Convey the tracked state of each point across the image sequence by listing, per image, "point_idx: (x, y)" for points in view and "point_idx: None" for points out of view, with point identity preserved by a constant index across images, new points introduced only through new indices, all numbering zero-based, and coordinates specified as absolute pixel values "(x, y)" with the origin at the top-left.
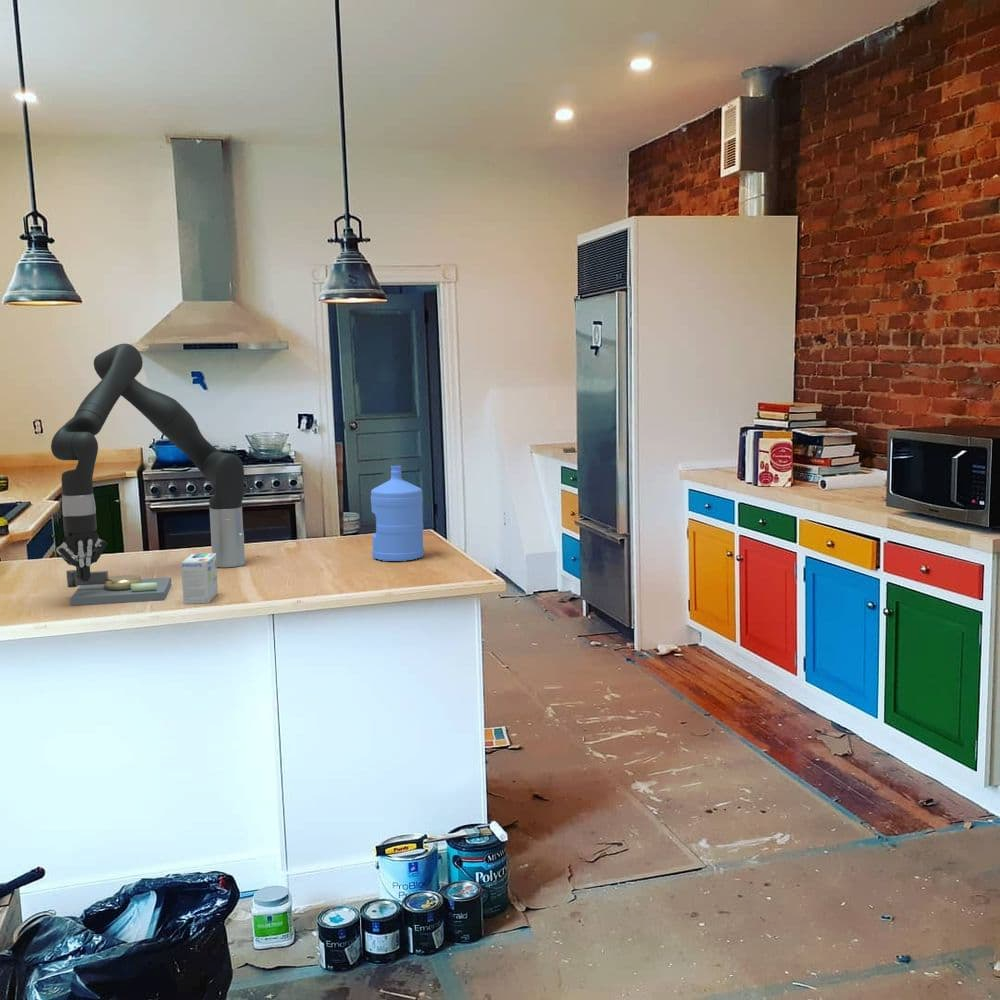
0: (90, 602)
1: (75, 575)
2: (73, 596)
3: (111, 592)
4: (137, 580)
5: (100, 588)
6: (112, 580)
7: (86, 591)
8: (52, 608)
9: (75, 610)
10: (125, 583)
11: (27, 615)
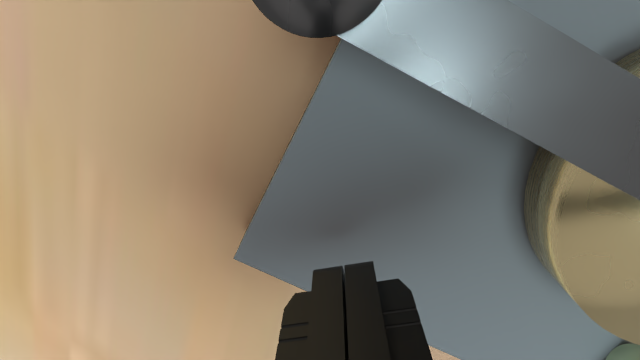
0: None
1: (347, 41)
2: (263, 233)
3: (508, 291)
4: None
5: None
6: (626, 236)
7: (393, 133)
8: (143, 218)
9: (243, 339)
10: None
11: (7, 281)
